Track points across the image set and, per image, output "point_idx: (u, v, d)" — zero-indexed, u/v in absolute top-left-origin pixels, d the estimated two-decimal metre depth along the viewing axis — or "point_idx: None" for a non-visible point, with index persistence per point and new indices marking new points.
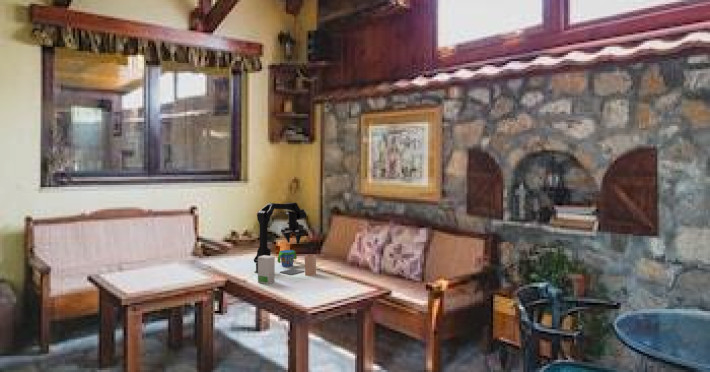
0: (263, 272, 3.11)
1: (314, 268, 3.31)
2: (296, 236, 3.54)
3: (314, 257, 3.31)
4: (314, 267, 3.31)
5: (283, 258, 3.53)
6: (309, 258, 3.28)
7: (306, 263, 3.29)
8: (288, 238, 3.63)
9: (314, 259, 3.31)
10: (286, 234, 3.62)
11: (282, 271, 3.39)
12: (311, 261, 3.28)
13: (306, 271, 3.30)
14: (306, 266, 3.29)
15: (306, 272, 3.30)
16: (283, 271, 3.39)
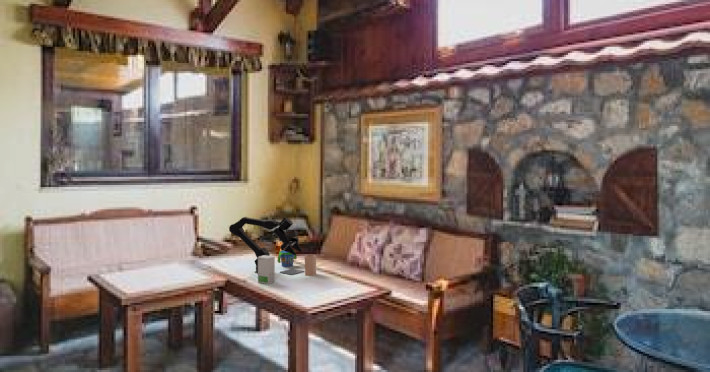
0: (263, 272, 3.11)
1: (314, 268, 3.31)
2: (286, 251, 3.28)
3: (314, 257, 3.31)
4: (314, 267, 3.31)
5: (283, 258, 3.53)
6: (309, 258, 3.28)
7: (306, 263, 3.29)
8: (298, 248, 3.38)
9: (314, 259, 3.31)
10: (293, 246, 3.39)
11: (282, 271, 3.39)
12: (311, 261, 3.28)
13: (306, 271, 3.30)
14: (306, 266, 3.29)
15: (306, 272, 3.30)
16: (283, 271, 3.39)
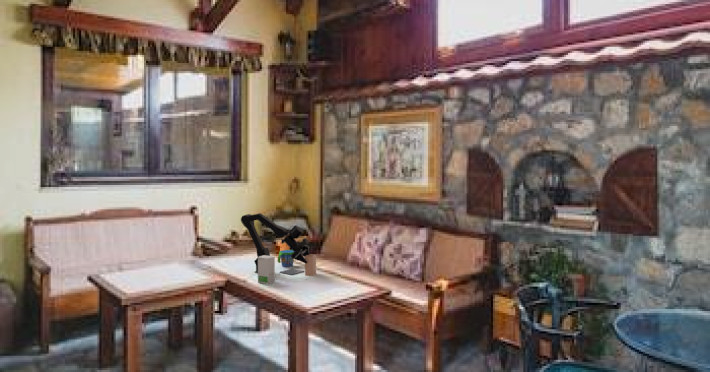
0: (263, 272, 3.11)
1: (314, 268, 3.31)
2: (296, 259, 3.27)
3: (314, 257, 3.31)
4: (314, 267, 3.31)
5: (283, 258, 3.53)
6: (309, 258, 3.28)
7: (306, 263, 3.29)
8: None
9: (314, 259, 3.31)
10: (304, 254, 3.37)
11: (282, 271, 3.39)
12: (311, 261, 3.28)
13: (306, 271, 3.30)
14: (306, 266, 3.29)
15: (306, 272, 3.30)
16: (283, 271, 3.39)
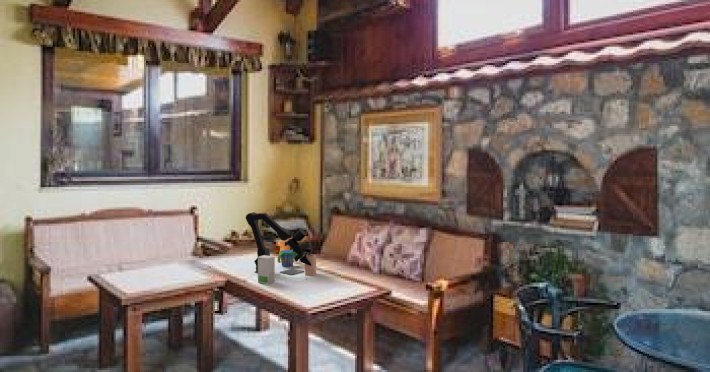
0: (263, 272, 3.11)
1: (314, 268, 3.31)
2: None
3: (314, 257, 3.31)
4: (314, 267, 3.31)
5: (283, 258, 3.53)
6: (309, 258, 3.28)
7: None
8: None
9: (314, 259, 3.31)
10: None
11: (282, 271, 3.39)
12: (311, 261, 3.28)
13: (306, 271, 3.30)
14: (306, 266, 3.29)
15: (306, 272, 3.30)
16: (283, 271, 3.39)
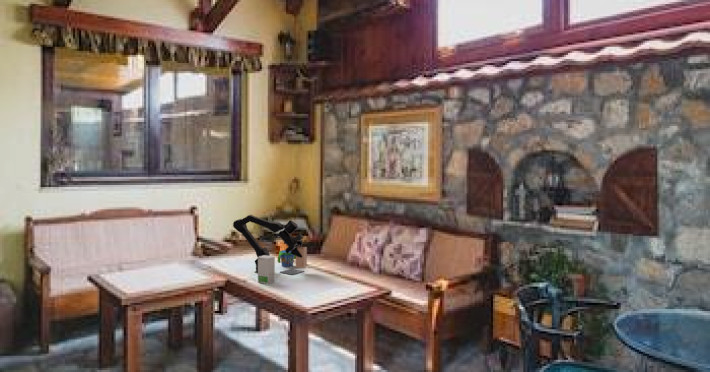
0: (263, 272, 3.11)
1: (305, 260, 3.33)
2: (292, 253, 3.31)
3: (305, 249, 3.33)
4: (305, 259, 3.33)
5: (283, 258, 3.53)
6: (300, 250, 3.31)
7: None
8: None
9: (305, 251, 3.33)
10: None
11: (282, 271, 3.39)
12: (302, 253, 3.31)
13: (297, 263, 3.32)
14: (297, 258, 3.32)
15: (297, 264, 3.32)
16: (283, 271, 3.39)
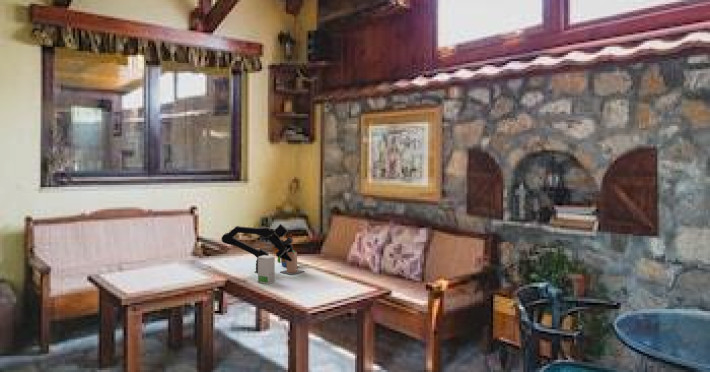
0: (263, 272, 3.11)
1: (295, 265, 3.38)
2: None
3: (295, 254, 3.38)
4: (295, 264, 3.38)
5: None
6: (291, 255, 3.35)
7: None
8: None
9: (295, 256, 3.38)
10: None
11: (282, 271, 3.39)
12: (293, 258, 3.35)
13: (288, 268, 3.36)
14: (288, 263, 3.36)
15: (288, 269, 3.36)
16: (283, 271, 3.39)
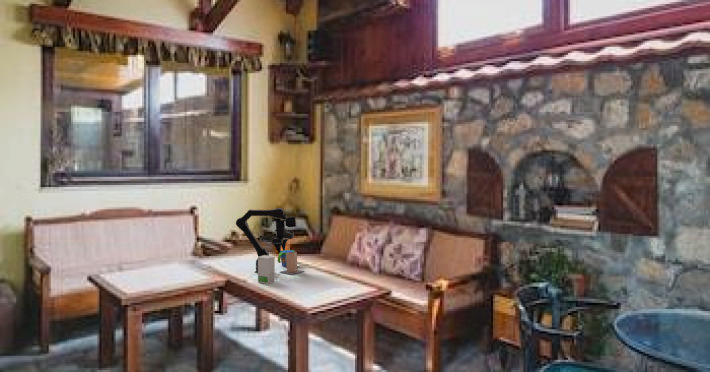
0: (263, 272, 3.11)
1: (295, 265, 3.38)
2: (274, 244, 3.33)
3: (295, 254, 3.38)
4: (295, 264, 3.38)
5: (283, 258, 3.53)
6: (291, 255, 3.35)
7: (288, 260, 3.36)
8: (283, 245, 3.44)
9: (295, 256, 3.38)
10: None
11: (282, 271, 3.39)
12: (293, 258, 3.35)
13: (288, 268, 3.36)
14: (288, 263, 3.36)
15: (288, 269, 3.36)
16: (283, 271, 3.39)
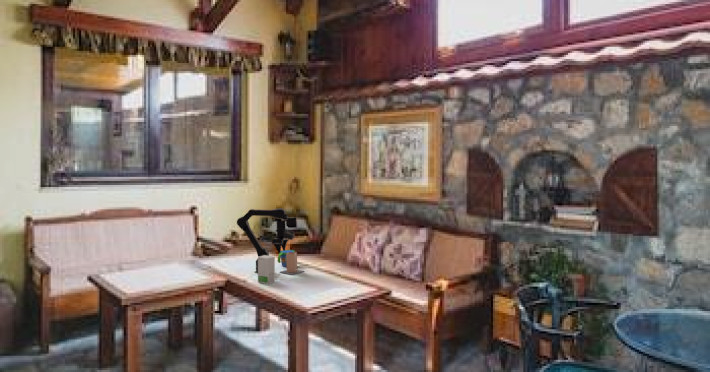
0: (263, 272, 3.11)
1: (295, 265, 3.38)
2: (274, 245, 3.33)
3: (295, 254, 3.38)
4: (295, 264, 3.38)
5: (283, 258, 3.53)
6: (291, 255, 3.35)
7: (288, 260, 3.36)
8: (283, 246, 3.44)
9: (295, 256, 3.38)
10: None
11: (282, 271, 3.39)
12: (293, 258, 3.35)
13: (288, 268, 3.36)
14: (288, 263, 3.36)
15: (288, 269, 3.36)
16: (283, 271, 3.39)
